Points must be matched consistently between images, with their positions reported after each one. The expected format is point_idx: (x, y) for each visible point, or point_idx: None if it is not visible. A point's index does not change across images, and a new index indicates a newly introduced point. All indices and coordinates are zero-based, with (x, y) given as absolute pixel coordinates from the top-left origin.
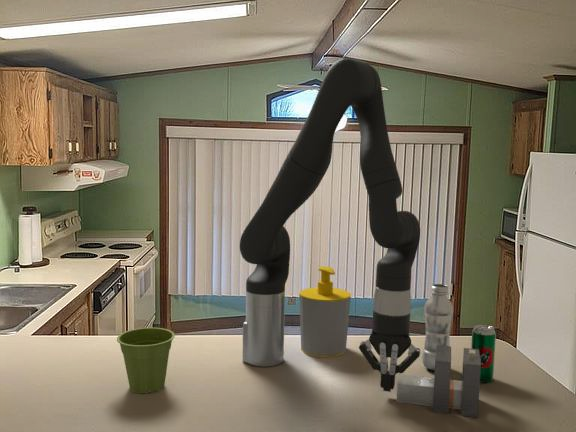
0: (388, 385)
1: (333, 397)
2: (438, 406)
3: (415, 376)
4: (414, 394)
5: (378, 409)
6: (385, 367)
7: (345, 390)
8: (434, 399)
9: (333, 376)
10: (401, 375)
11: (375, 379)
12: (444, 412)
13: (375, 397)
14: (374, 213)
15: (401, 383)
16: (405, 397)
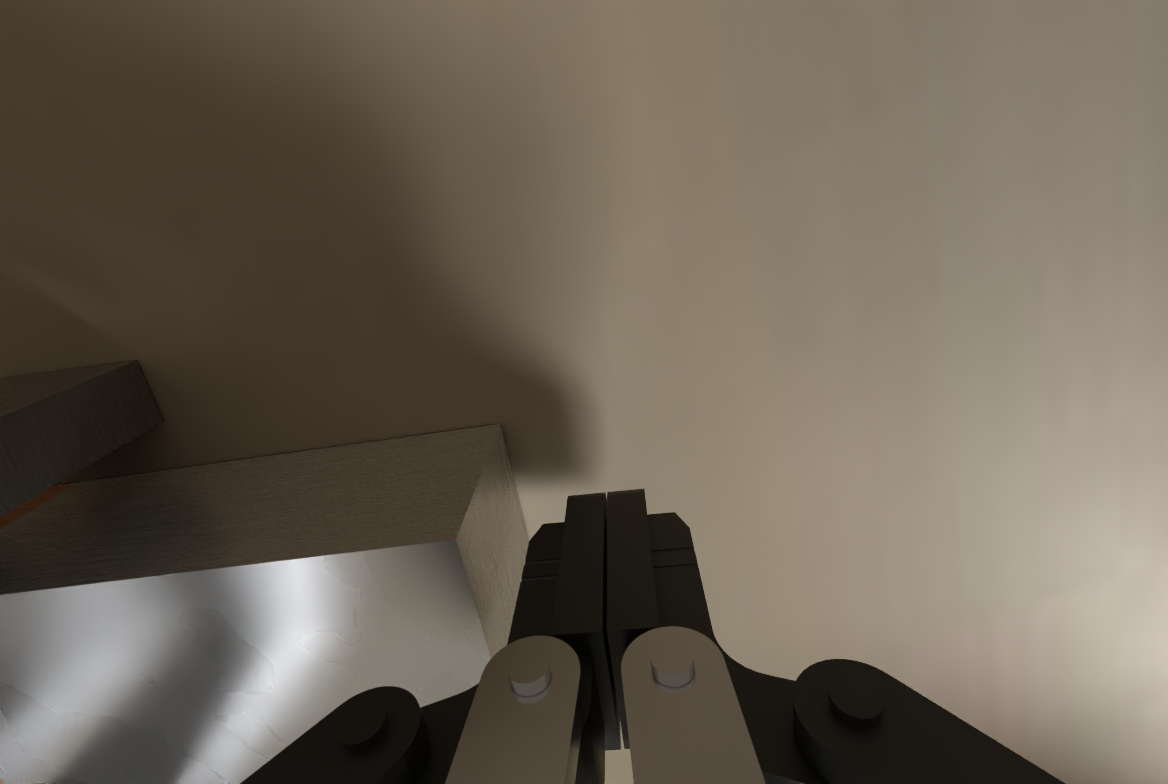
0: (587, 529)
1: (1154, 267)
2: (35, 388)
3: None
4: (298, 497)
5: (623, 178)
6: (650, 736)
7: (1020, 476)
8: (3, 410)
9: (1140, 692)
10: None
11: None
12: (29, 375)
13: (711, 443)
14: None
15: (404, 553)
16: (404, 461)
